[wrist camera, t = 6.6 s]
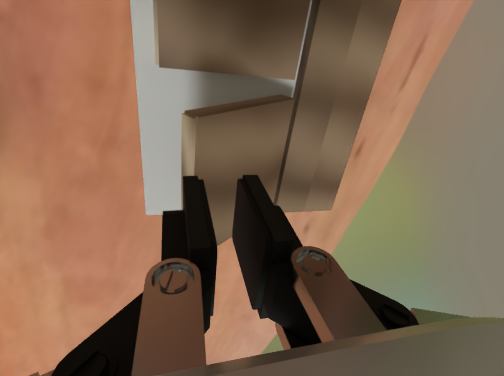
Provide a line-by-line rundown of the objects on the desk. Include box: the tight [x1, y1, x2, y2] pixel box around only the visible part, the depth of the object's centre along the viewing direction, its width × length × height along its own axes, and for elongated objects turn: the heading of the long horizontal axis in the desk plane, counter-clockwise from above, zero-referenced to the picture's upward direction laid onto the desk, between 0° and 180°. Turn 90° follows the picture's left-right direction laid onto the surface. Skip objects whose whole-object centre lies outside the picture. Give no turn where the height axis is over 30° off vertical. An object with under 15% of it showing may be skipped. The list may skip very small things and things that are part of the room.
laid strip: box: [273, 0, 402, 212], centre depth 22 cm, size 22×6×1 cm, turn 172°
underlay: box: [130, 0, 312, 215], centre depth 21 cm, size 23×17×1 cm
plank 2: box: [181, 94, 295, 246], centre depth 21 cm, size 10×9×1 cm
